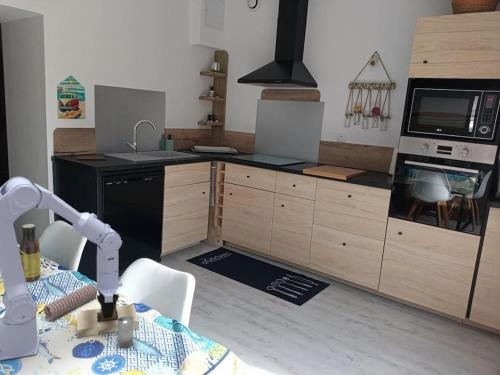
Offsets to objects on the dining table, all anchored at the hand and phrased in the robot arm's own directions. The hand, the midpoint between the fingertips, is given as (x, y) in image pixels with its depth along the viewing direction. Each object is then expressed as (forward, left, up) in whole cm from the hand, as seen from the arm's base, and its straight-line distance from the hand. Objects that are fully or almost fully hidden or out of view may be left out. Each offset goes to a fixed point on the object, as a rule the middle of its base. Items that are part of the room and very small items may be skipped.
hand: (107, 313), depth 110 cm
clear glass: (+4, -11, -3) cm, 12 cm away
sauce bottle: (-24, +37, -4) cm, 44 cm away
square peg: (0, 0, -2) cm, 2 cm away
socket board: (0, 0, -3) cm, 3 cm away
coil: (-10, +13, -4) cm, 16 cm away
